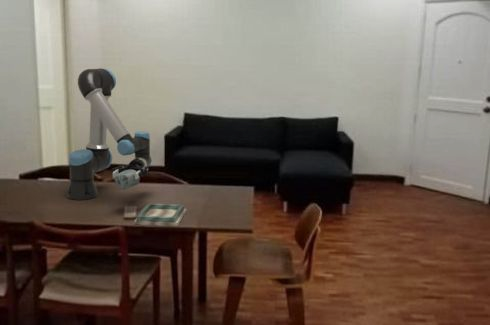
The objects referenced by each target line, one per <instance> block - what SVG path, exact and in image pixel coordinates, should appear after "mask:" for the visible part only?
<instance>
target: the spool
mask: <svg viewBox="0 0 490 325" xmlns="http://www.w3.org/2000/svg"><path fill="white" fill-rule="evenodd" d="M135 173H136V171H135V170H132V169H130V170H125V171H123V172H121V173H119V174H117V175H116V176H115V178H114V183H115V185H116V187H117V188H118V189H119V190H124V191H125V190H128V188H131V187H134V186H137V185H138V184H139V183H140V180H141V178H140V177H141V176H140V177H139V178H138V179H135Z"/></svg>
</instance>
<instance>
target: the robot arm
mask: <svg viewBox="0 0 490 325" xmlns="http://www.w3.org/2000/svg"><path fill="white" fill-rule="evenodd" d="M116 84H117V80H116V76H115V74H114V73H113V71H111V70H109V69H107V68H101V67H100V68H88V69H87V68H86V69H84V70H82V72H80V74H79V75H78V78H77V85H78V86H77V87H78V90H79V92H80V94H81V95H82V97H83V98H84V100H85V101H88V102H89V103H90V113H89V114H90V115H89V137H88V139H89V141H88V142H89V143H87V144H86V145H85V148H84V149H76V150H74V151H71V153H69V155H68V165H69V167H68V168H69V170H68V171H69V184H68V188H67V192H66V198H67V199H70V200H74V201H75V200H76V201H79V200H83V201H84V200H92V199H94V198H97V197H98V196H99V194H98V193H99V192H98V188H97V186H96V184H95V182H94V180H95V179H94V174H95V173H98V172H101V171H104V170H107V168H109V167H110V166H111V164H112V162H113V154H112V152H111V151H110V146H109V145H108V144H107V132H109V134H110V135H111V136H112V137H113V139H114V141H115V142H116V143H117V146H116V149H117V152H118V153H119V155H122V156H130V155H133V154H134V159H132V160H131V161H130V162H129V163H128V165H125V166H124V165H123V164H121V165H119V166H117V167H113V168H111V175H112V179H115V176H116V175H117V174H119V173H121V172H123V171H125V170H130V169H132V170H135V171H136V173H135V179H138V178H139V177H143V176H144V177H147V176H148V172H149V167H150V166H151V164H152V162H153V161H152V156H151V155H150V153H151V152H150V151H151V150H150V149H151V148H150V146H151V145H150V144H151V138H150V137H151V136H150V133H149V132H148V131H139V130H138V131H136V132H134V136H133V137H132V135H131V134H130V132H129V131H128V130H127V128H126V126H125V125H124V124H123V121H122V120H121V119H120V117H119V116H118V114H117V113H116V111H115V109H114V107H112V106H111V104H110V103H109V98H110V97H112V91H113V90H114V88H115V87H116ZM107 130H108V131H107Z"/></svg>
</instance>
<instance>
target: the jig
mask: <svg viewBox="0 0 490 325" xmlns="http://www.w3.org/2000/svg"><path fill="white" fill-rule="evenodd" d="M186 213H187V208H185V205H184V204H168V203H167V204H166V203H147V204H146V205H145V206H144V208H142V210H141V211H140V212H139V213H138V214H137V216H136V219H134V221H133V225H134V224H138V226H139V225H140V226H160V227H161V226H162V227H178V226H179V225H180V223H181V221H182V219H183V218H184V216H185V214H186Z"/></svg>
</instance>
